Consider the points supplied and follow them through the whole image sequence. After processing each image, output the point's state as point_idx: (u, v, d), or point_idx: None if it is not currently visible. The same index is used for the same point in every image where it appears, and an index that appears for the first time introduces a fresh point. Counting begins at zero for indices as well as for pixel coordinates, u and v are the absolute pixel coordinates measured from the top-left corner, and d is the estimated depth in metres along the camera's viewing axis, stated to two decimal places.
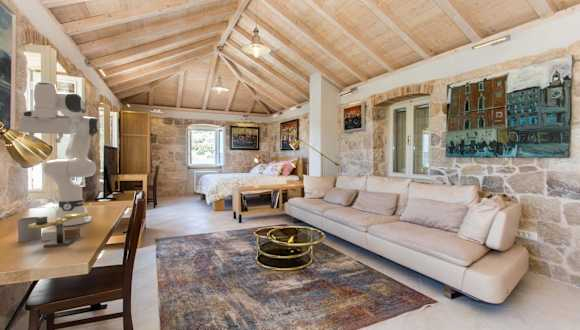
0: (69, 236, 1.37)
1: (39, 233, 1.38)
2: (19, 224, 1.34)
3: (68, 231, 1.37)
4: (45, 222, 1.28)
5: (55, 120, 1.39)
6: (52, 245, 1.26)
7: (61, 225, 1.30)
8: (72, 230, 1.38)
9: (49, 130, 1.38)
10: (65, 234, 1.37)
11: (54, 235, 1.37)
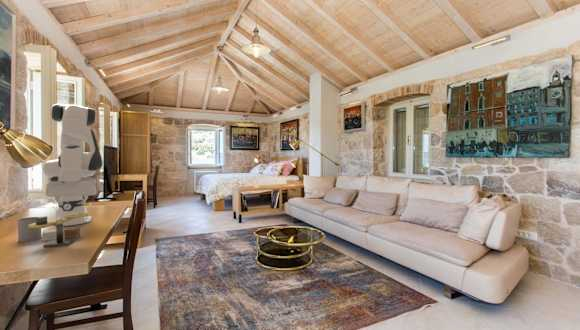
0: (69, 236, 1.37)
1: (39, 233, 1.38)
2: (19, 224, 1.34)
3: (68, 231, 1.37)
4: (45, 222, 1.28)
5: (80, 182, 1.39)
6: (52, 245, 1.26)
7: (61, 225, 1.30)
8: (72, 230, 1.38)
9: (74, 193, 1.38)
10: (65, 234, 1.37)
11: (54, 235, 1.37)
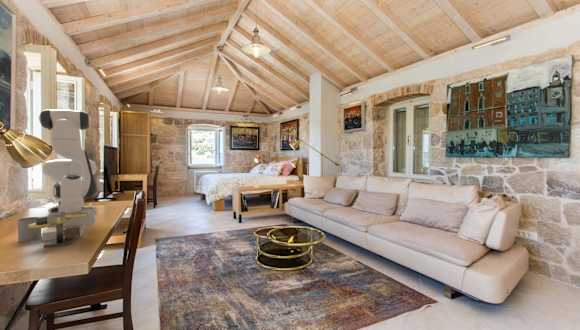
0: (69, 236, 1.37)
1: (39, 233, 1.38)
2: (19, 224, 1.34)
3: (68, 231, 1.37)
4: (45, 222, 1.28)
5: None
6: (52, 245, 1.26)
7: (61, 225, 1.30)
8: (72, 230, 1.38)
9: (75, 223, 1.38)
10: (65, 234, 1.37)
11: (54, 235, 1.37)
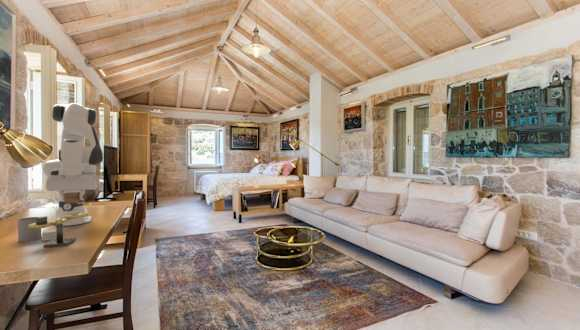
0: (69, 200, 1.36)
1: (39, 233, 1.38)
2: (19, 224, 1.34)
3: (68, 195, 1.36)
4: (45, 222, 1.28)
5: (81, 177, 1.38)
6: (52, 245, 1.26)
7: (61, 225, 1.30)
8: (72, 194, 1.36)
9: (75, 187, 1.37)
10: (65, 197, 1.35)
11: (54, 235, 1.37)
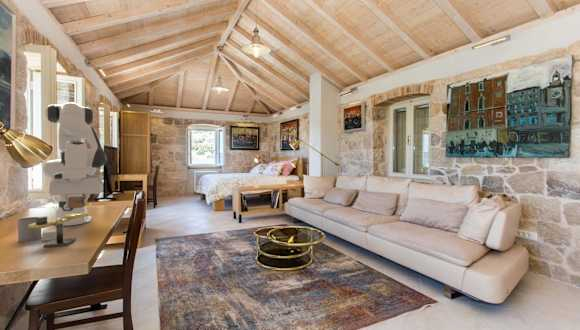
0: (73, 204, 1.30)
1: (39, 233, 1.38)
2: (19, 224, 1.34)
3: (72, 199, 1.30)
4: (45, 222, 1.28)
5: (86, 180, 1.32)
6: (52, 245, 1.26)
7: (61, 225, 1.30)
8: (76, 198, 1.30)
9: (79, 191, 1.31)
10: (69, 202, 1.29)
11: (54, 235, 1.37)
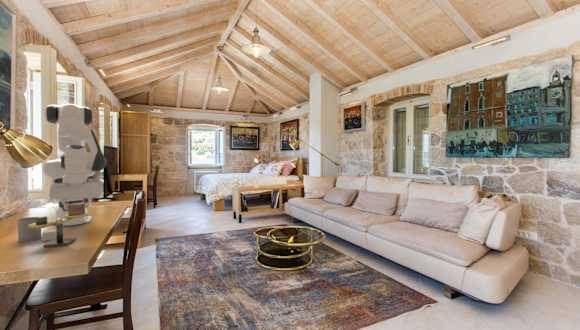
0: (73, 212, 1.30)
1: (39, 233, 1.38)
2: (19, 224, 1.34)
3: (72, 206, 1.30)
4: (45, 222, 1.28)
5: (86, 184, 1.32)
6: (52, 245, 1.26)
7: (61, 225, 1.30)
8: (77, 205, 1.30)
9: (79, 196, 1.31)
10: (69, 209, 1.29)
11: (54, 235, 1.37)
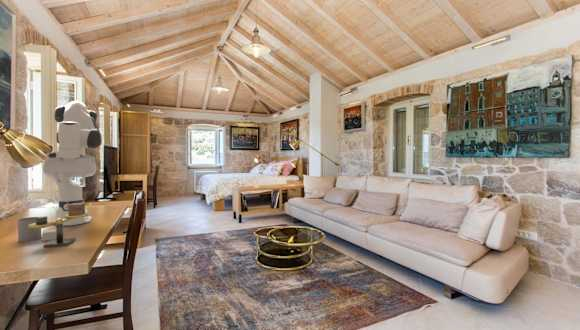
0: (73, 212, 1.30)
1: (39, 233, 1.38)
2: (19, 224, 1.34)
3: (72, 206, 1.30)
4: (45, 222, 1.28)
5: (79, 160, 1.37)
6: (52, 245, 1.26)
7: (61, 225, 1.30)
8: (77, 205, 1.30)
9: (73, 170, 1.37)
10: (69, 209, 1.29)
11: (54, 235, 1.37)
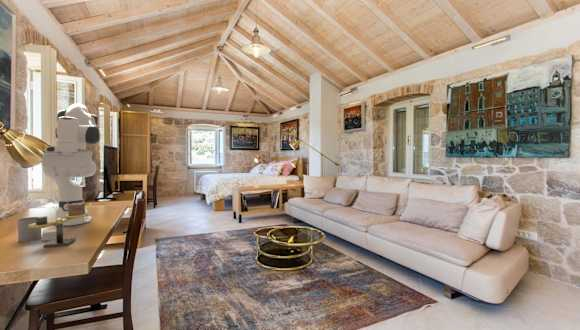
0: (73, 212, 1.30)
1: (39, 233, 1.38)
2: (19, 224, 1.34)
3: (72, 206, 1.30)
4: (45, 222, 1.28)
5: (77, 154, 1.39)
6: (52, 245, 1.26)
7: (61, 225, 1.30)
8: (77, 205, 1.30)
9: (71, 164, 1.39)
10: (69, 209, 1.29)
11: (54, 235, 1.37)
